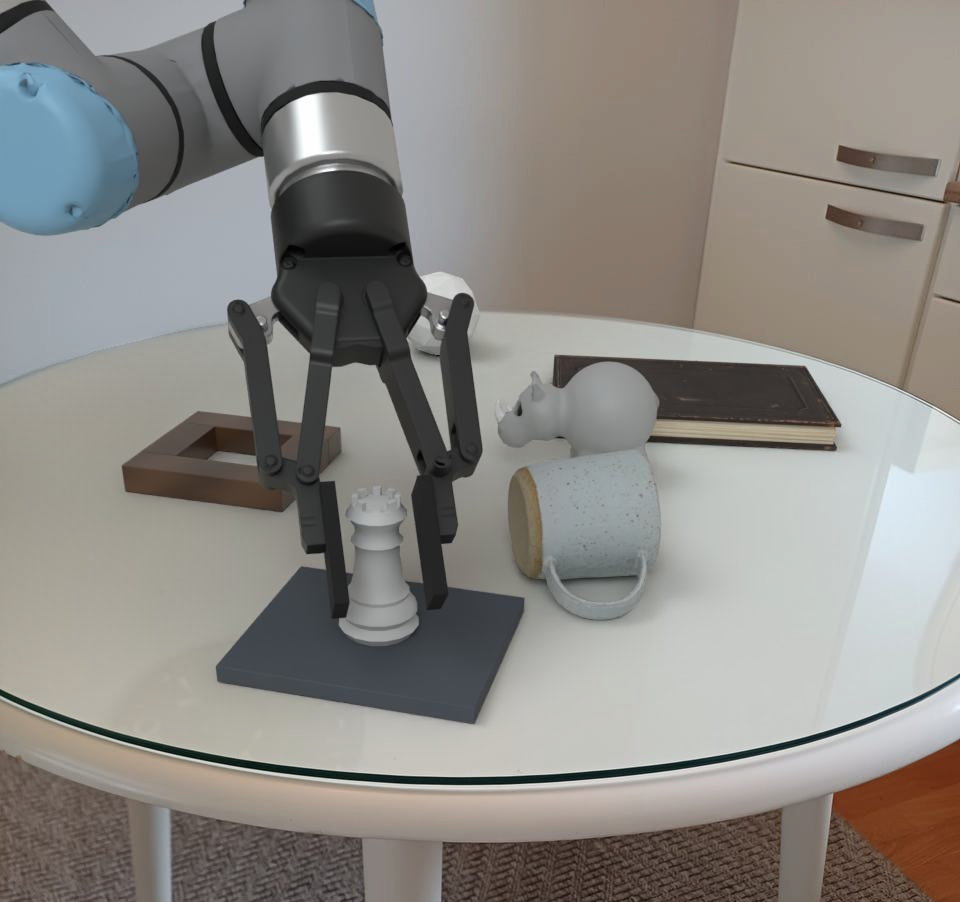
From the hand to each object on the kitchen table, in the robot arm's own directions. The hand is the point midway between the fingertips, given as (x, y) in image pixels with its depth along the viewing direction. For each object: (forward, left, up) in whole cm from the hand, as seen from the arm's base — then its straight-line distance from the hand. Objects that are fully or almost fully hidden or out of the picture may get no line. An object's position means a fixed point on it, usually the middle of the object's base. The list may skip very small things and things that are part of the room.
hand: (389, 605), depth 57 cm
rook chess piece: (-2, +3, -4) cm, 5 cm away
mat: (-2, +3, -5) cm, 6 cm away
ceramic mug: (+8, +14, -5) cm, 17 cm away
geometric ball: (-14, +58, -5) cm, 60 cm away
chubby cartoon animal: (+4, +31, -5) cm, 32 cm away
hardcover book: (+11, +48, -5) cm, 50 cm away
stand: (-20, +24, -5) cm, 32 cm away
